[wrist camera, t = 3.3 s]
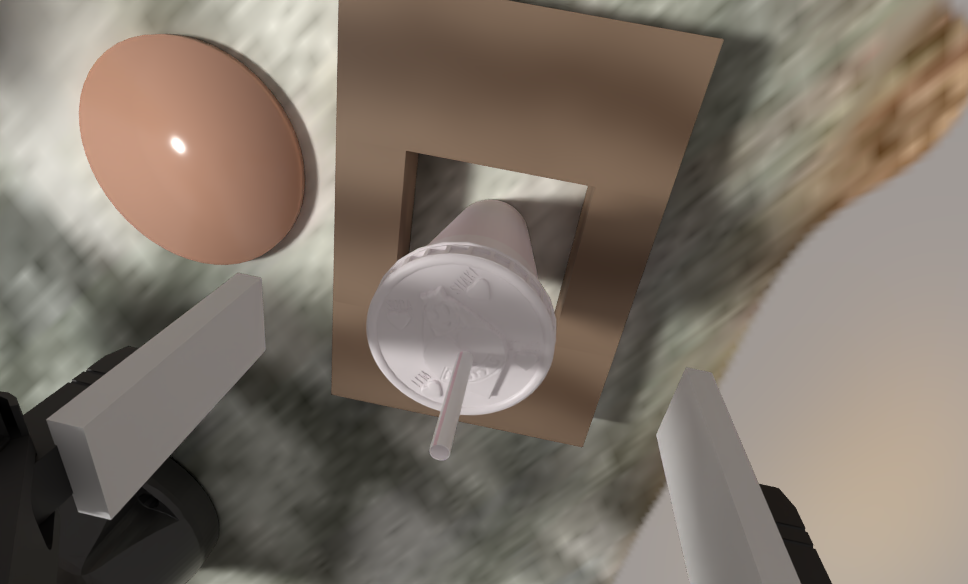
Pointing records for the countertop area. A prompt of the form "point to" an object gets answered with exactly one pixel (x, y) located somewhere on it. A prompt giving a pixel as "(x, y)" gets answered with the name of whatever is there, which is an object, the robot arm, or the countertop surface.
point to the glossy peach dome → (191, 148)
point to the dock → (509, 165)
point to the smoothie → (465, 320)
